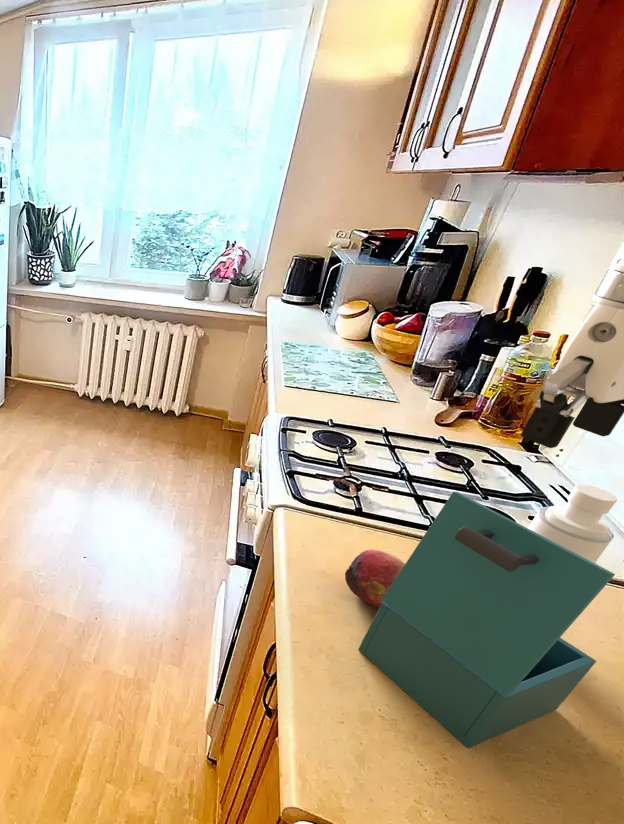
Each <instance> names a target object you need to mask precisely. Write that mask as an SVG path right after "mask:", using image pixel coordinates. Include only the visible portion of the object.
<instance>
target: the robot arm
mask: <svg viewBox="0 0 624 824" xmlns="http://www.w3.org/2000/svg"><path fill="white" fill-rule="evenodd" d="M591 300H592V301H593V302H596V304H595V306H594V307H593V308H592V309H591V310H590V312H589V314H588V315H587V316H586V318H585V320H584V321H583V323H582V324H581V325H580V327H579V328H578V330H577V331H576V333H575V334H574V336H573V337H572V339H571V340H570V342H569V344H568V345H567V347H566V349H565V350H564V352H563V354H562V355H561V356H560V358H559V360H558V362H557V364H556V366H555V368H554V369H553V371H552V373H551V374H550V375H549V376H547V377H546V379H545V381H544V385H543V390H541V391H540V394H539V399H538V400H537V401H536V403H535V405H534V406H535V408H534V409H533V411H532V413H531V415H530V417H529V419H528V420H527V422H526V423H525V426H524V427H523V429H522V431H521V433H520V436H521V437H522V438H524V439H526V440H528V441H531V442H534V443H536V444H537V445H541V446H544V447H546V448H549V449H554V448H557V447H558V446H559V445H560V443H561V441H562V440H563V438H564V436H565V434H566V433H567V431H568V430H569V428H570V426H571V425H573V426H574V428H578V429H580V430H583V431H586V432H589V433H591V434H594V435H597V436H600V437H608V436H610V435H611V433H612V432H613V430H614V429H615V428H616V426H617V424H618V423H619V422H620V420H621V418H622V417H623V416H624V241H623V242H622V244H621V246H620V248H619V249H618V251H617V253H616V255H615V257H614V258H613V260H612V262H611V264H610V266H609V268H608V269H607V271H606V273H605V274H604V276H603V278H602V279H601V282H600V283H599V285H598V286H597V289H596V290H595V292H594V294H593V296H592V298H591ZM568 396H569V397H572V399H571V400H570V401H568ZM581 406H582V408H580V407H581ZM579 408H580V411H579V412H578V414H577V415H576V417H574V416H573V415H572V414H574V412H576V411H577V410H578V409H579Z"/></svg>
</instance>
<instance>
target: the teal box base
mask: <svg viewBox="0 0 624 824" xmlns="http://www.w3.org/2000/svg"><path fill="white" fill-rule="evenodd" d="M357 650H358V652H360V653H361V654H362V655H364V657H366V658H367V659H368V660H369V661H370V662H371V663H372V664H373V665H375V667H377V669H379V670H380V671H381V672H382V673H383V674H384V675H386V676H387V677H388V678H389V679H390V680H391V681H392V682H393V683H394V684H396V685H397V686H398V687H399V688H400V689H401V690H402V691H403V692H405V693H406V694H407V695H408V696H409V697H410V698H411V699H412V700H413V701H415V702H416V703H417V704H418V705H419V706H420V707H421V708H423V709H424V711H425V712H427V713H428V714H429V715H430V716H431V717H432V718H433V719H434V720H436V721H437V722H438V723H439V724H440V725H441V726H443V728H445V729H446V730H447V731H448V732H449V733H451V734H452V736H453V737H455V739H457V740H458V741H459V742H460V743H462V745H463V746H465V747H466V748H467V749H470V748H472V747H474V746H477V745H478V744H481V743H483V742H486V741H488V740H490V739H493V738H495V737H497V736H499V735H501V734H504V733H507V732H508V731H511V730H513V729H515V728H518V727H520V726H522V725H524V724H527V723H529V722H532V721H534V720H536V719H538V718H540V717H543V716H545V715H548V714H550V713H552V712H554V711H556V710H558V708H560V706H561V705H562V704H563V702H564V701H565V700H566V699H567V698H568V696H570V694H571V693H572V692H573V691H574V689H575V688H576V687H577V685H579V683H580V682H581V681H582V680H583V679H584V677H585V676H586V675H587V673H588V672H589V671H590V670H591V669H592V667H594V665H595V664H596V663H597V660H596V659H594V658H593V657H591V656H590V655H588V654H587V653H586V652H583V651H582V650H580V649H579V648H577V647H576V646H574V645H573V644H571V643H570V642H568V641H566V640H565V639H563V638H562V637H560V638H559V639H558V640H557V641H556V643H555V644H554V645H553V646H552V647H551V648H550V649H549V651H548V652H547V653H546V654H545V655H544V656H543V657H542V659H541V660H540V661H539V662H538V663H537V664H536V665H535V667H534V668H533V669H532V670H531V671H530V672H529V673H528V675H527V676H526V677H525V678H524V679H523V680H522V681H521V682H520V684H519V685H518V686H517V687H516V688H515V689H514V690H513V692H512V693H511V694H510V695H508V696H504V695H503V694H502V693H501V692H499V691H498V690H497V689H495V688H494V687H493V686H492V685H490V684H489V683H488V682H486V681H485V680H484V679H482V678H481V677H480V676H479V675H477V674H476V673H475V672H473V671H472V670H471V669H470V668H468V667H467V666H466V665H464V664H463V663H462V662H461V661H459V660H458V659H457V658H455V657H454V656H453V655H452V654H450V653H449V652H448V651H446V650H445V649H444V648H443V647H441V646H440V645H439V644H437V643H436V642H435V641H434V640H432V639H431V638H430V637H428V636H427V635H426V634H424V633H423V632H422V631H421V630H419V629H418V628H417V627H415V626H414V625H413V624H412V623H410V622H409V621H408V620H406V619H405V618H404V617H403V616H401V615H400V614H399V613H397V612H396V611H395V610H394V609H392V608H391V607H390V606H388V605H387V604H386V603H385V602H382V604H381V606H380V607H378V610H377V612H376V613H375V616H374V618H373V619H372V621H371V624H370V625H369V627H368V629H367V631H366V634H365V635H364V637H363V639H362V640H361V643H360V645H359V646H358V649H357Z"/></svg>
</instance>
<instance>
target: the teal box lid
mask: <svg viewBox="0 0 624 824" xmlns="http://www.w3.org/2000/svg"><path fill="white" fill-rule="evenodd" d="M615 575H616V574H615V573H614V572H612V571H610V570H608V569H606V568H604V567H602V566H601V565H599V564H597V563H596V562H595V563H593V562H591V561H589V560H587V559H585V558H583V557H581V556H579V555H578V554H576V553H574V552H572V551H570V550H568V549H566V548H564V547H562V546H560V545H558V544H557V543H555V542H553V541H551V540H549V539H547V538H545V537H543V536H541V535H539V534H537V533H535V532H534V531H532V530H530V529H528V527H527V526H524V525H522V524H520V523H518V522H516V521H515V520H512V519H510V518H508V517H507V516H505V515H503V514H501V513H499V512H497V511H495V510H493V509H492V508H490V507H488V506H486V505H483V504H482V503H480V502H478V501H476V500H474V499H472V498H470V497H468V496H466V495H464V494H462V493H461V492H458V491H452V493H451V494H450V496H449V497H448V499H447V500H446V502H445V503H444V505H443V507H442V508H441V509H440V511H439V512H438V514H437V515H436V517H435V518H434V520H433V522H431V524H430V526H429V527H428V529H427V530H426V532H425V533H424V534H423V537H422V538H421V540H420V541H419V543H418V544H417V545H416V547H415V549H414V550H413V552H412V553H411V554H410V556H409V558H407V561H406V562H405V565H404V567H403V568H402V570H401V571H400V573H399V574H398V576H397V577H396V579H395V580H394V582H393V583H392V585H391V586H390V588H389V589H388V591H387V592H386V594H385V595H384V597H383V598H382V601H383V602H385V603H386V604H387V605H388V606H390V607H391V608H392V609H394V610H395V611H396V612H397V613H399V614H400V615H401V616H403V617H404V618H405V619H406V620H408V621H409V622H410V623H412V624H413V625H414V626H415V627H417V628H418V629H419V630H421V631H422V632H423V633H424V634H426V635H427V636H428V637H430V638H431V639H432V640H434V641H435V642H436V643H437V644H439V645H440V646H441V647H443V648H444V649H445V650H446V651H448V652H449V653H450V654H452V655H453V656H454V657H455V658H457V659H458V660H459V661H461V662H462V663H463V664H464V665H466V666H467V667H468V668H470V669H471V670H472V671H473V672H475V673H476V674H477V675H479V676H480V677H481V678H482V679H484V680H485V681H486V682H488V683H489V684H490V685H492V686H493V687H494V688H495V689H497V690H498V691H499V692H501V693H502V694H503V695H504V696H508V695H510V694H511V693H512V692H513V690H514V689H515V688H516V687H517V686H518V685H519V684H520V682H521V681H522V680H523V679H524V678H525V677H526V676H527V675H528V673H529V672H530V671H531V670H532V669H533V668H534V667H535V665H536V664H537V663H538V662H539V661H540V660H541V659H542V657H543V656H544V655H545V654H546V653H547V652H548V651H549V649H550V648H551V647H552V646H553V645H554V644H555V643H556V641H557V640H558V639H559V638H562V636H563V635H564V634H565V633H566V631H567V630H568V629H569V628H570V627H571V626H572V624H574V623H575V622H576V620H577V619H578V618H579V617H580V616H581V614H582V613H583V612H584V611H585V610H586V609H587V607H588V606H589V605H590V604H591V603H592V602H593V600H594V599H595V598H596V597H597V596H598V595H599V594H600V593H601V592H602V590H603V589H604V588H605V587H606V586H607V584H608V583H609V582H610V581H611V580H612V579H613V578H614V577H615Z"/></svg>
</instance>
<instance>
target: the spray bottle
mask: <svg viewBox="0 0 624 824" xmlns="http://www.w3.org/2000/svg"><path fill="white" fill-rule="evenodd" d="M617 501H618V498H617V496H616V495H614V494H613V493H611V492H610V491H608V490H606V489H603V488H600V487H597V486H593V485H590V484H579V483H578V484H576V485H574V487H573V489H572V490H571V491H570V493H569V495H568V496H567V503H566V505H558V504H557V505H551V506H543V507H541V508H540V509H538V511H537V512H536V515H534V518H533V519H532V521H530V524H529V526H528V527H527V528H528V529H530V530H532V531H534V532H535V533H537V534H539V535H541V536H543V537H545V538H547V539H549V540H551V541H553V542H555V543H557V544H558V545H560V546H562V547H564V548H566V549H568V550H570V551H572V552H574V553H576V554H578V555H579V556H581V557H583V558H585V559H587V560H589V561H591V562H593V563H595V564H596V562H597V561H598V559H600V557H601V556H602V554H603V553H604V551H605V550H606V549H607V547H608V546H609V544H610V543H611V542H612V540H613V539H614V537H615V534H614V532H613V531H612V530H611V529H610V527H609V525H608V524H607V523H606V522H605V521H604V520H602V519H601V518H602V517H603V516H604V515H606V514H609V512H610V511H611V510H612V508H613V507H614V505H615V503H616V502H617Z"/></svg>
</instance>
